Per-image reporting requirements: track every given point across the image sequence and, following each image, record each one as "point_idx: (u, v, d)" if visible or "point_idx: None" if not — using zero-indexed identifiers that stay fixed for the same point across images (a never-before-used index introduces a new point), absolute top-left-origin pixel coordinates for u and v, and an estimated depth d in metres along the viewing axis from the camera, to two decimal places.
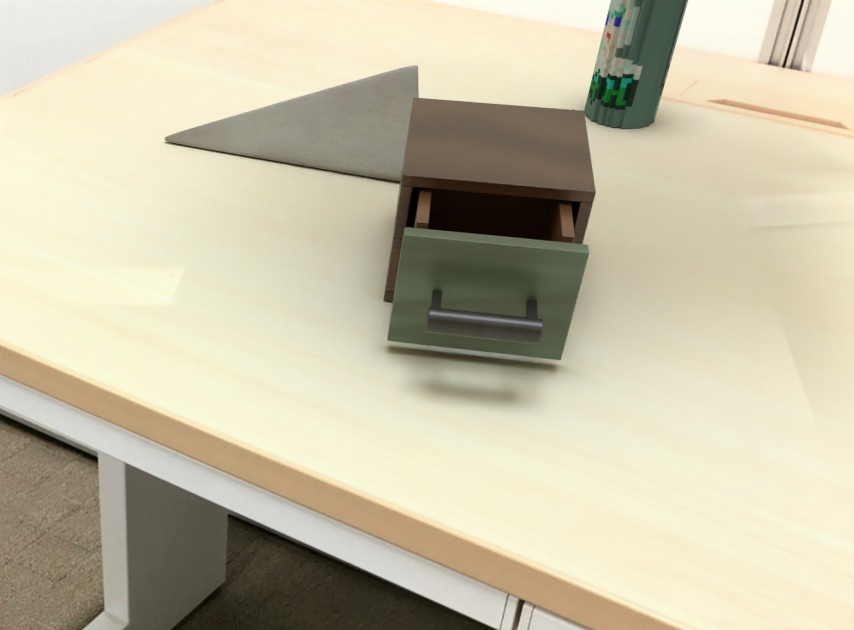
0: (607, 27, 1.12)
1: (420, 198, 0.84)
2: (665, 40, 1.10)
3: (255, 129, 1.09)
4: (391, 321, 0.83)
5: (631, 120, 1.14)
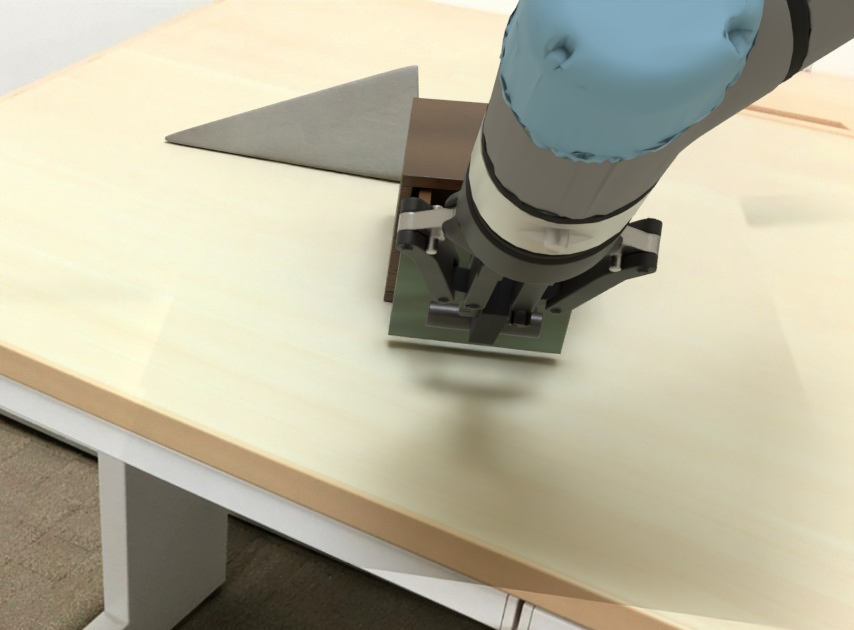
0: None
1: (421, 193, 0.84)
2: None
3: (255, 129, 1.09)
4: (392, 315, 0.84)
5: None
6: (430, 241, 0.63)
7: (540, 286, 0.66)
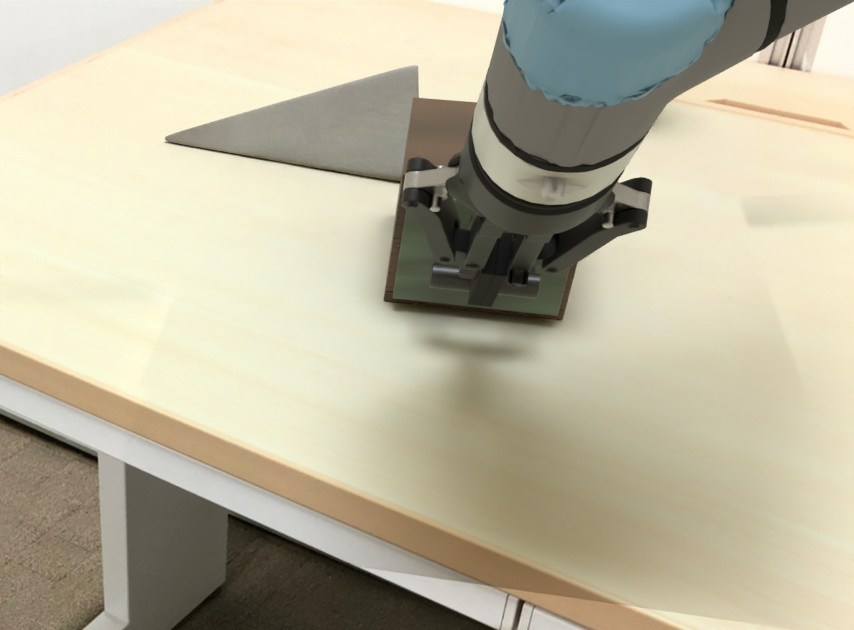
0: None
1: None
2: None
3: (255, 129, 1.09)
4: (396, 279, 0.88)
5: None
6: (434, 199, 0.67)
7: (537, 244, 0.70)
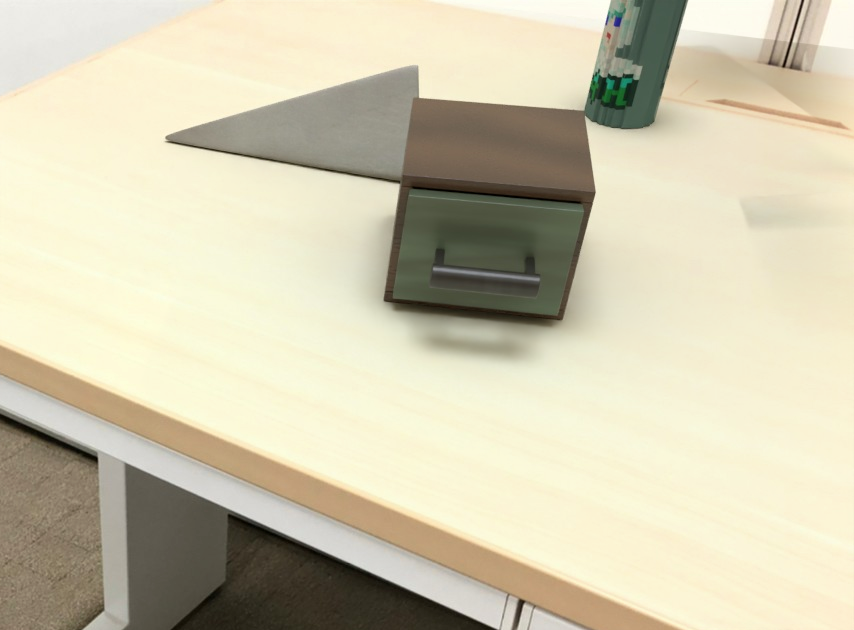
0: (607, 27, 1.12)
1: None
2: (665, 40, 1.10)
3: (256, 128, 1.09)
4: (396, 279, 0.88)
5: (631, 120, 1.14)
6: None
7: None
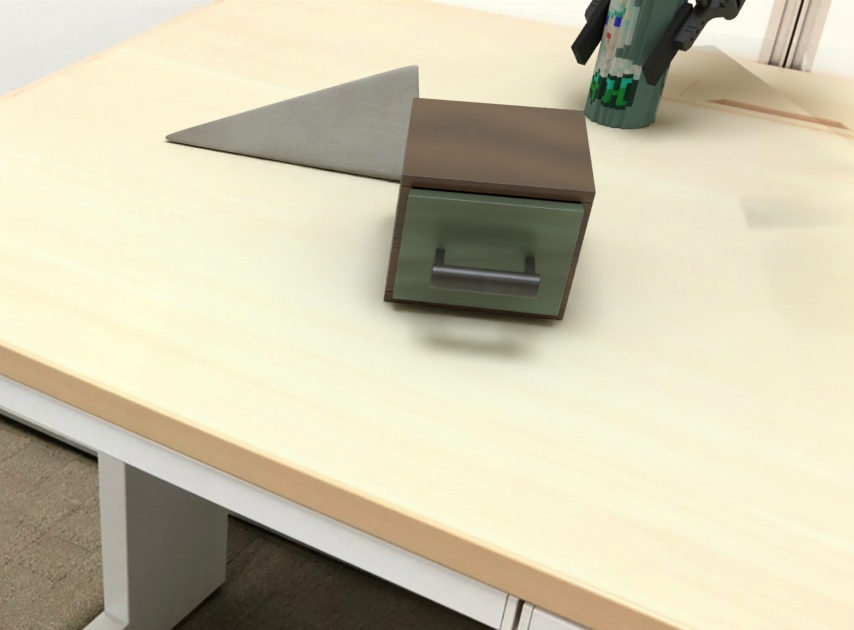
0: (607, 27, 1.12)
1: None
2: None
3: (256, 128, 1.09)
4: (396, 279, 0.88)
5: (631, 120, 1.14)
6: None
7: None
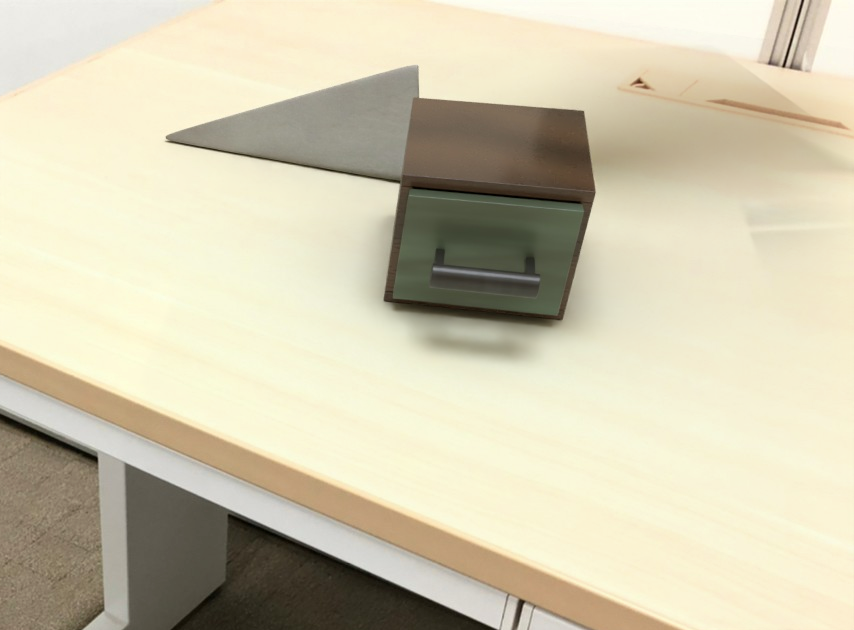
0: None
1: None
2: None
3: (256, 128, 1.09)
4: (396, 279, 0.88)
5: None
6: None
7: None
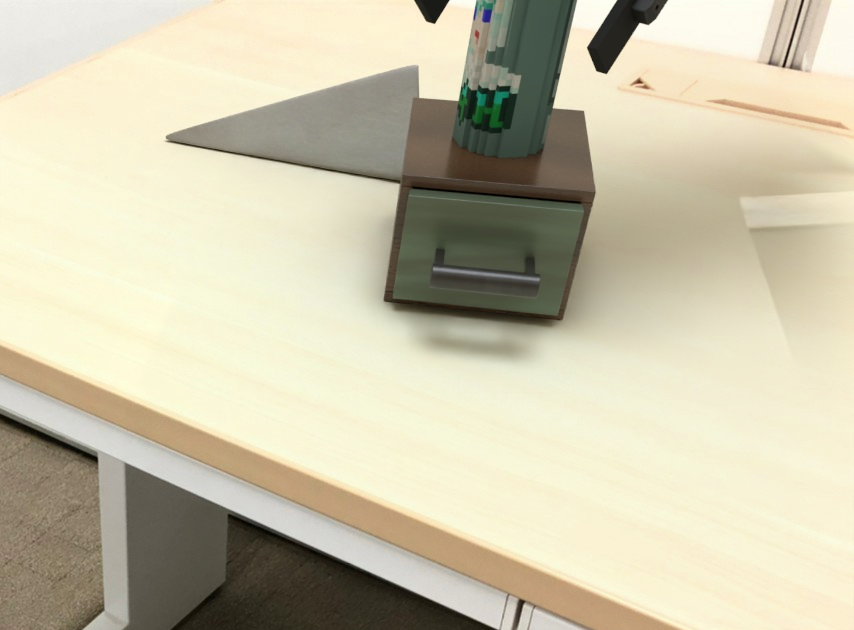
0: (475, 23, 0.83)
1: None
2: (550, 40, 0.81)
3: (256, 128, 1.09)
4: (396, 279, 0.88)
5: (511, 147, 0.86)
6: None
7: None
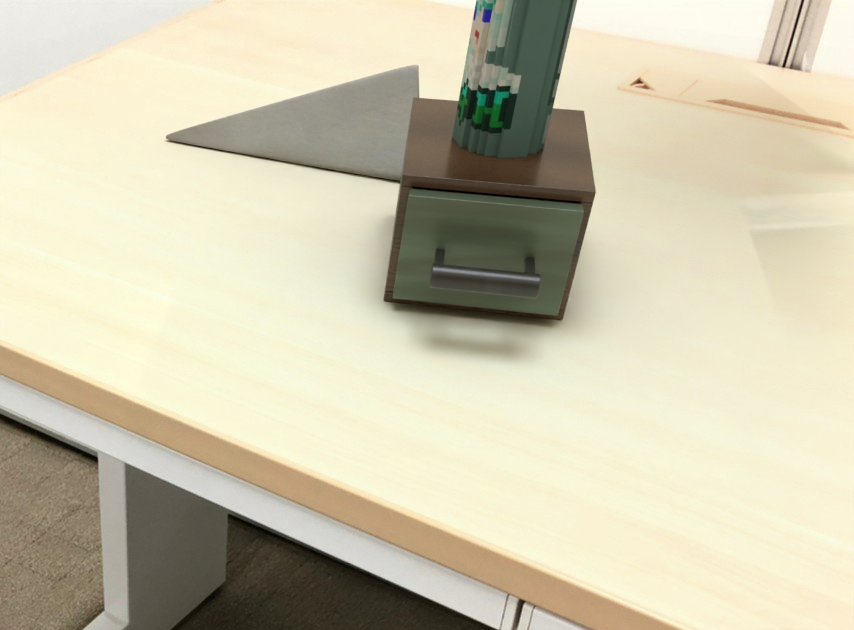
0: (475, 23, 0.83)
1: None
2: (550, 40, 0.81)
3: (256, 128, 1.09)
4: (396, 279, 0.88)
5: (511, 147, 0.86)
6: None
7: None
